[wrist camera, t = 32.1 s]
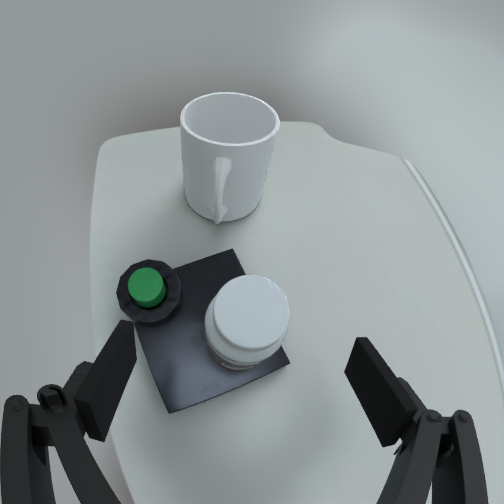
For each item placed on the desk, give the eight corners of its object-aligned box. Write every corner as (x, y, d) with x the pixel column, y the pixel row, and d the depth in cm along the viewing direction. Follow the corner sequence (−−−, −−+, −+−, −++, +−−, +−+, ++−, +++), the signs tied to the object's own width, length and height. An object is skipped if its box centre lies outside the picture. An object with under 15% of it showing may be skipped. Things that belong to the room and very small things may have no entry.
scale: (165, 414, 22) (160, 417, 19) (119, 283, 27) (110, 271, 25) (287, 364, 26) (295, 360, 23) (228, 245, 31) (229, 231, 29)
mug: (252, 164, 38) (266, 92, 28) (273, 239, 33) (301, 165, 22) (182, 169, 36) (179, 94, 26) (189, 248, 31) (183, 171, 20)
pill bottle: (236, 299, 27) (250, 249, 19) (281, 340, 26) (317, 308, 17) (193, 340, 25) (183, 307, 16) (239, 384, 23) (255, 377, 15)
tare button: (138, 312, 24) (133, 306, 22) (128, 281, 25) (124, 274, 24) (170, 300, 25) (167, 294, 23) (159, 270, 26) (156, 262, 25)
